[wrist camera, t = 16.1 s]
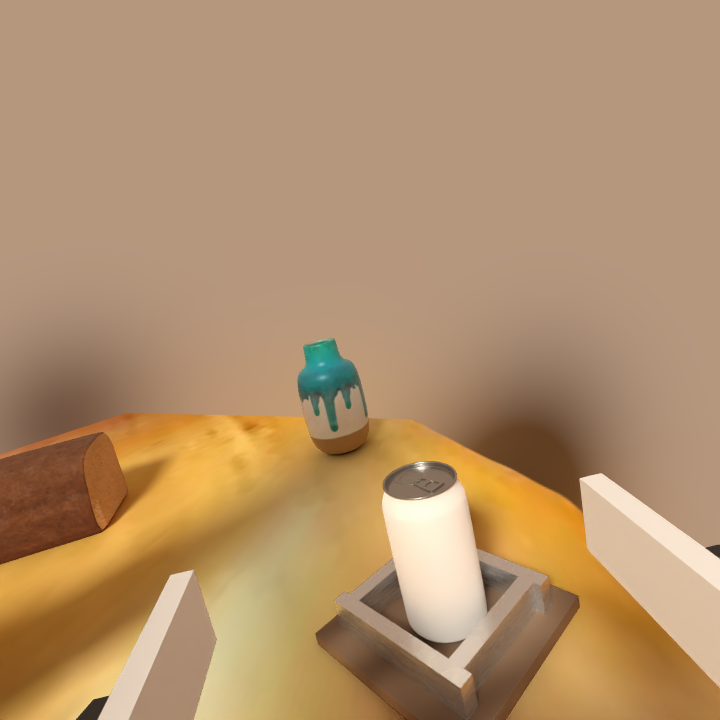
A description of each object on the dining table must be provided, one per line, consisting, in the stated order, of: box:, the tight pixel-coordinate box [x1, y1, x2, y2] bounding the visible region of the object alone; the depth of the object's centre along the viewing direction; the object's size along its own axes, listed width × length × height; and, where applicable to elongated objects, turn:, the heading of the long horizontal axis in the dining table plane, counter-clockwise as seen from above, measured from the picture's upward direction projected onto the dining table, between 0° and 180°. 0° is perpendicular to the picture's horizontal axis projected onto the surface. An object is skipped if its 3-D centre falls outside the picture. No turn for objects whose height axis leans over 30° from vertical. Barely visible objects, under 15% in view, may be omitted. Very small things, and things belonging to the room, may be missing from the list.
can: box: [382, 461, 487, 644], centre depth 34 cm, size 6×6×12 cm
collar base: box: [316, 584, 580, 720], centre depth 36 cm, size 15×15×1 cm
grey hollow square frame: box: [334, 549, 552, 720], centre depth 35 cm, size 13×11×2 cm
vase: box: [298, 338, 369, 454], centre depth 74 cm, size 11×11×19 cm
